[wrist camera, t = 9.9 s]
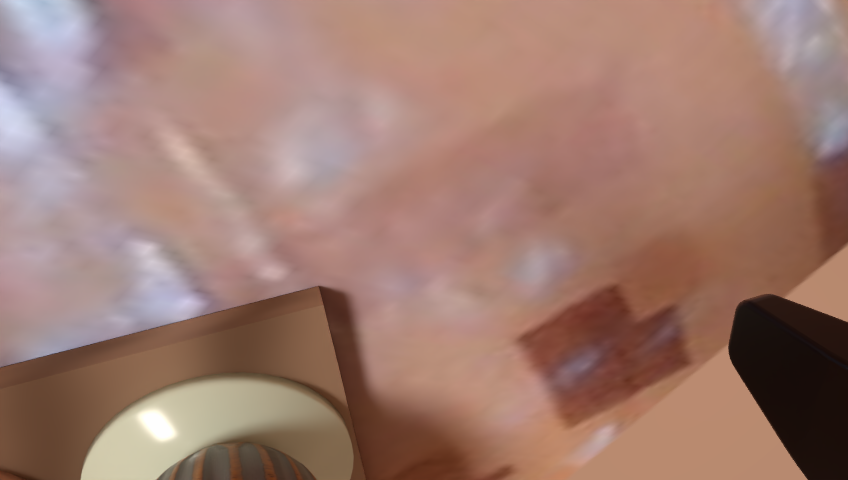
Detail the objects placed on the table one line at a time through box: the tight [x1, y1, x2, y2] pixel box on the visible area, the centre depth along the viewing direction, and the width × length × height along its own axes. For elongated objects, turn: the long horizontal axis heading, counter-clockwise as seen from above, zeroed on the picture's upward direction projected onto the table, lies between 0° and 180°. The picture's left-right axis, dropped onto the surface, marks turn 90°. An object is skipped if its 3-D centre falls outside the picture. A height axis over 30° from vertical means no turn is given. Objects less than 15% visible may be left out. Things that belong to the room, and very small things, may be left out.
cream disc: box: [81, 372, 354, 480], centre depth 24 cm, size 9×9×1 cm
